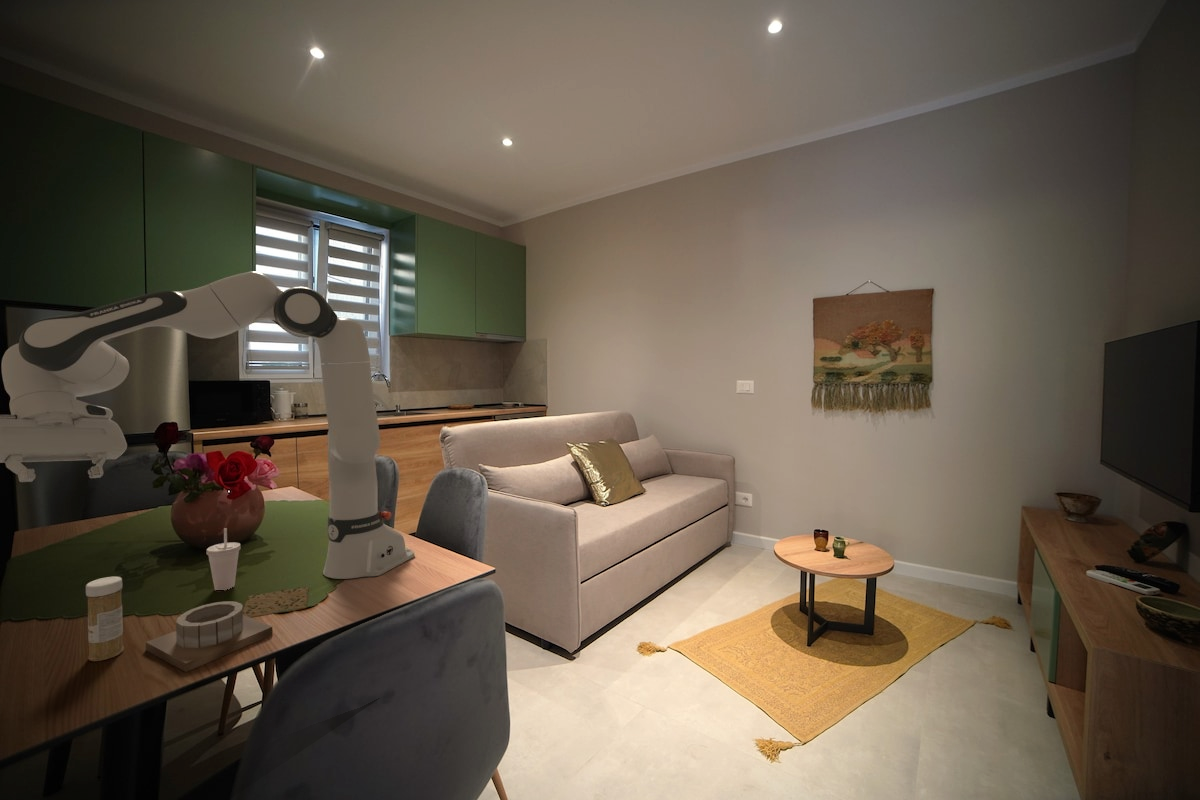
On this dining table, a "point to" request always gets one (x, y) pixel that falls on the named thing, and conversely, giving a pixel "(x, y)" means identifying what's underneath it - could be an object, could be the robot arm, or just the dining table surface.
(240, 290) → the robot arm
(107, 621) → the sprinkles bottle
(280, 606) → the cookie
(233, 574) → the smoothie
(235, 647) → the collar stand
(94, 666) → the dining table surface
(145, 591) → the dining table surface
